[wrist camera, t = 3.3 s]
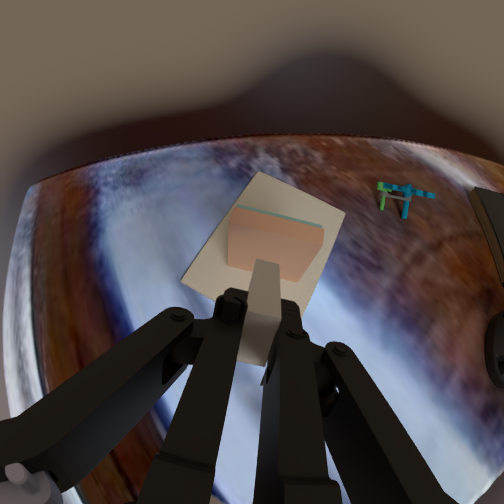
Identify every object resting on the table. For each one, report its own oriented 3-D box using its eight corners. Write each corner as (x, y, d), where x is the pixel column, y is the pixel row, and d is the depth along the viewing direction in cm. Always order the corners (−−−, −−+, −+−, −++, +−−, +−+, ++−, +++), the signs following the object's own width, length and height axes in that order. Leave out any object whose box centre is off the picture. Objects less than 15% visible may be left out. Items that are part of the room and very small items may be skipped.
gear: (420, 187, 43) (446, 192, 34) (416, 217, 45) (440, 228, 36) (368, 176, 45) (386, 178, 35) (364, 208, 46) (381, 218, 37)
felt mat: (344, 214, 40) (345, 213, 40) (289, 341, 31) (290, 340, 31) (258, 172, 42) (258, 171, 42) (181, 282, 33) (180, 281, 33)
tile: (297, 282, 34) (322, 245, 25) (227, 265, 34) (228, 222, 25) (300, 265, 35) (324, 224, 26) (232, 249, 35) (235, 202, 26)
